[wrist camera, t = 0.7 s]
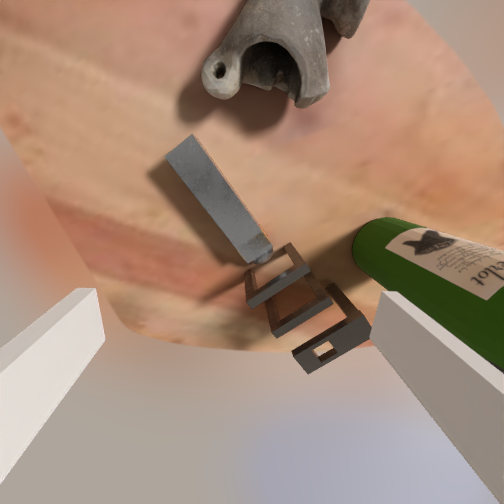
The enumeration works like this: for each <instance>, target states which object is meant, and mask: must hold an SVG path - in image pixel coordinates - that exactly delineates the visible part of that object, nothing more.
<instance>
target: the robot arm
mask: <svg viewBox="0 0 504 504" xmlns="http://www.w3.org/2000/svg"><path fill="white" fill-rule="evenodd" d="M369 338H370V340H371V341H372V342H373V343H374V345H375V346H376V347H377V348H378V350H379V351H380V352H381V353H382V355H383V356H384V357H385V358H386V360H387V361H388V362H389V364H390V365H391V366H392V367H393V368H394V370H395V371H396V372H397V374H398V375H399V376H400V378H401V379H402V380H403V381H404V383H405V384H406V385H407V386H408V388H409V389H410V390H411V391H412V393H413V394H414V395H415V396H416V398H417V399H418V400H419V402H420V403H421V404H422V405H423V407H424V408H425V409H426V410H427V412H428V413H429V414H430V415H431V417H432V418H433V419H434V421H435V422H436V423H437V424H438V426H439V427H440V428H441V429H442V431H443V432H444V433H445V434H446V436H447V437H448V438H449V439H450V441H451V442H452V443H453V445H454V446H455V447H456V448H457V450H458V451H459V452H460V453H461V455H462V456H463V457H464V459H465V460H466V461H467V462H468V464H469V465H470V466H471V467H472V469H473V470H474V471H475V473H476V474H477V475H478V476H479V477H480V479H481V480H482V481H483V482H484V484H485V485H486V486H487V487H488V489H489V490H490V491H491V493H492V494H493V495H494V497H495V498H496V499H497V500H498V502H499V503H500V504H504V369H502V368H501V367H500V366H498V365H496V364H495V363H493V362H491V361H489V360H487V359H486V358H484V357H482V356H480V355H479V354H477V353H476V352H475V351H473V350H472V349H471V348H469V347H468V346H467V345H466V344H464V343H463V342H462V341H460V340H459V339H458V338H456V337H455V336H454V335H453V334H451V333H450V332H449V331H447V330H446V329H445V328H443V327H442V326H441V325H440V324H438V323H437V322H436V321H434V320H433V319H432V318H430V317H429V316H428V315H427V314H425V313H424V312H423V311H421V310H420V309H419V308H418V307H416V306H415V305H414V304H412V303H411V302H410V301H408V300H407V299H406V298H405V297H403V296H402V295H401V294H399V293H398V292H397V291H382V293H381V296H380V300H379V304H378V307H377V311H376V315H375V318H374V322H373V325H372V329H371V333H370V336H369ZM105 340H106V339H105V335H104V329H103V324H102V318H101V313H100V308H99V303H98V297H97V292H96V288H76V289H75V290H74V291H73V292H71V293H70V294H69V295H67V296H66V297H65V298H64V299H62V300H61V301H60V302H58V303H57V304H56V305H55V306H54V307H52V308H51V309H50V310H48V311H47V312H46V313H45V314H43V315H42V316H41V317H39V318H38V319H37V320H36V321H35V322H33V323H32V324H30V325H29V326H28V327H27V328H25V329H24V330H23V331H22V332H20V333H19V334H18V335H17V336H15V337H14V338H13V339H11V340H10V341H9V342H8V343H6V344H5V345H4V346H3V347H1V348H0V484H1V482H2V481H3V480H4V478H5V477H6V475H7V474H8V473H9V471H10V470H11V469H12V467H13V466H14V465H15V463H16V462H17V460H18V459H19V458H20V456H21V455H22V454H23V452H24V451H25V449H26V448H27V447H28V445H29V444H30V443H31V441H32V440H33V438H34V437H35V436H36V434H37V433H38V432H39V430H40V429H41V427H42V426H43V425H44V423H45V422H46V421H47V419H48V418H49V416H50V415H51V414H52V413H53V411H54V410H55V408H56V407H57V406H58V404H59V403H60V401H61V400H62V399H63V397H64V396H65V395H66V393H67V392H68V391H69V389H70V388H71V386H72V385H73V384H74V382H75V381H76V380H77V378H78V377H79V376H80V374H81V373H82V371H83V370H84V369H85V367H86V366H87V365H88V363H89V362H90V360H91V359H92V358H93V356H94V355H95V354H96V352H97V351H98V350H99V348H100V347H101V345H102V344H103V343H104V341H105Z"/></svg>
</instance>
